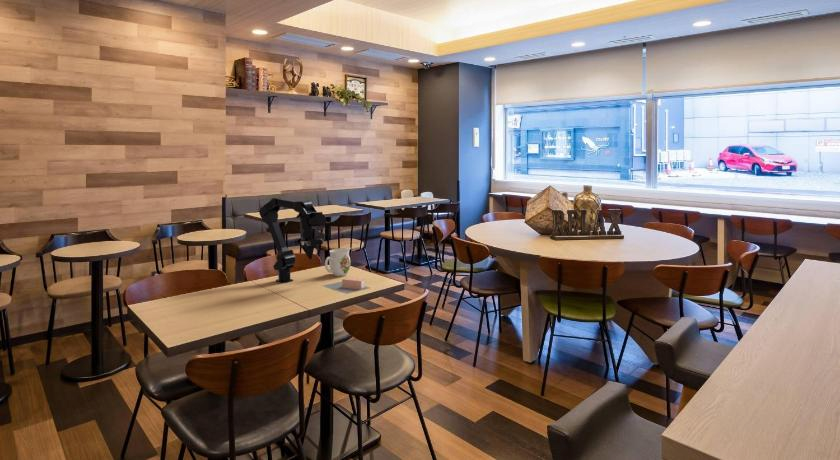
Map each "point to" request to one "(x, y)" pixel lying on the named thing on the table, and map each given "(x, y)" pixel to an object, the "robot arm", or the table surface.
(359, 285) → the block
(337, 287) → the mat
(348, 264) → the pitcher
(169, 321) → the table surface
